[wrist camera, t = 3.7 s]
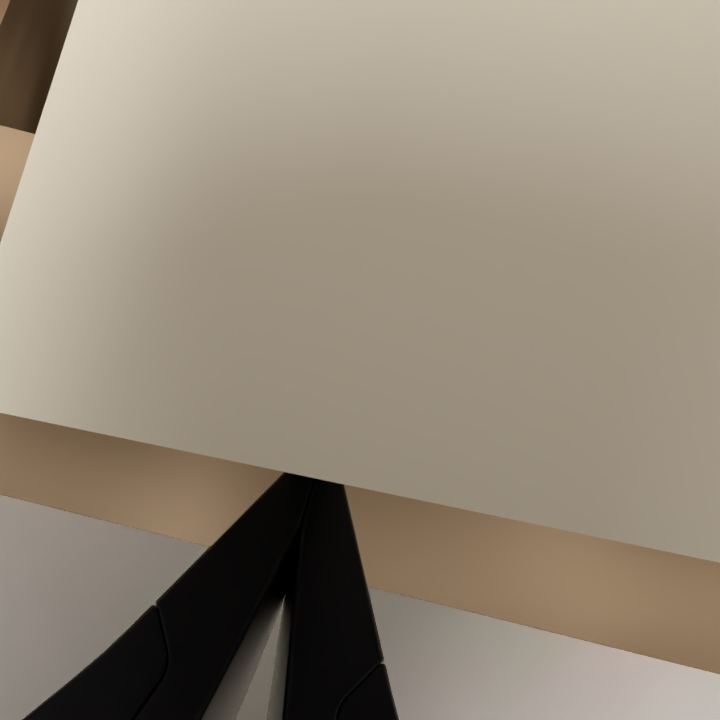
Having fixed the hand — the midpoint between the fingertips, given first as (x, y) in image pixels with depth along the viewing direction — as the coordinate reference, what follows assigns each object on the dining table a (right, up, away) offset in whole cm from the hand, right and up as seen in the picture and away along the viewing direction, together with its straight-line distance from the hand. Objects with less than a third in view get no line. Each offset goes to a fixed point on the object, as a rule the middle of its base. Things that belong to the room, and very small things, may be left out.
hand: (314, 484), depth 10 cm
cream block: (+1, +4, +4) cm, 5 cm away
